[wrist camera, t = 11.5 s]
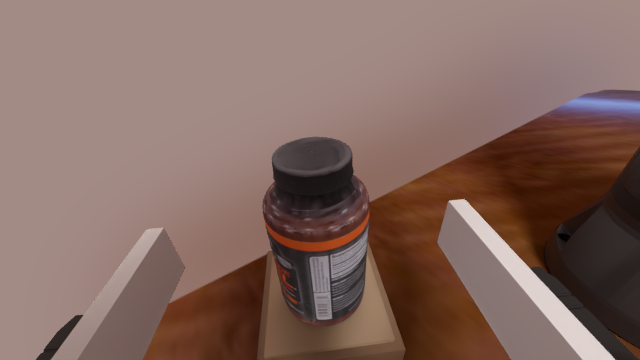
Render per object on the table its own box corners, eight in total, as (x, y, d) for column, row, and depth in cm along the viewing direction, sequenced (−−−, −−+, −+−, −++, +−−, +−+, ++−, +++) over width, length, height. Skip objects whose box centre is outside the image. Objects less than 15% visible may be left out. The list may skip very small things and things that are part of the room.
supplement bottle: (272, 276, 20) (237, 145, 13) (337, 246, 22) (332, 121, 16) (304, 350, 15) (274, 201, 9) (382, 302, 17) (400, 157, 11)
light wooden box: (365, 281, 26) (367, 237, 22) (395, 388, 18) (406, 347, 15) (278, 291, 25) (267, 249, 22) (272, 406, 18) (254, 368, 14)
